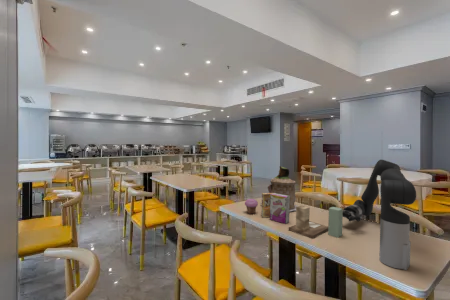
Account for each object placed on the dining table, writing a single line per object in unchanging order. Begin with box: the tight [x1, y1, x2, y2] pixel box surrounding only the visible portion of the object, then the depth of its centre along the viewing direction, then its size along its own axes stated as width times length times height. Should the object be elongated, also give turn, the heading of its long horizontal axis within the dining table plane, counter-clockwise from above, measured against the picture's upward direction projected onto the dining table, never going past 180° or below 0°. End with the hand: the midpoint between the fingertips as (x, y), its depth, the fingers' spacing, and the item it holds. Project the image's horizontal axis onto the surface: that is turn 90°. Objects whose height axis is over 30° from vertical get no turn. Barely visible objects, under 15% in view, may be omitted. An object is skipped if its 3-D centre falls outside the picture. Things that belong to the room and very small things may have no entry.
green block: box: [327, 206, 344, 239], centre depth 114 cm, size 5×5×14 cm
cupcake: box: [244, 198, 259, 215], centre depth 149 cm, size 9×9×10 cm
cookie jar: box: [259, 165, 299, 213], centre depth 163 cm, size 25×25×32 cm
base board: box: [288, 204, 328, 240], centre depth 120 cm, size 14×19×14 cm
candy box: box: [261, 192, 273, 218], centre depth 143 cm, size 9×4×15 cm, turn 98°
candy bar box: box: [269, 193, 290, 225], centre depth 134 cm, size 11×5×16 cm, turn 47°
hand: (341, 217), depth 118 cm, fingers open, 8 cm apart
